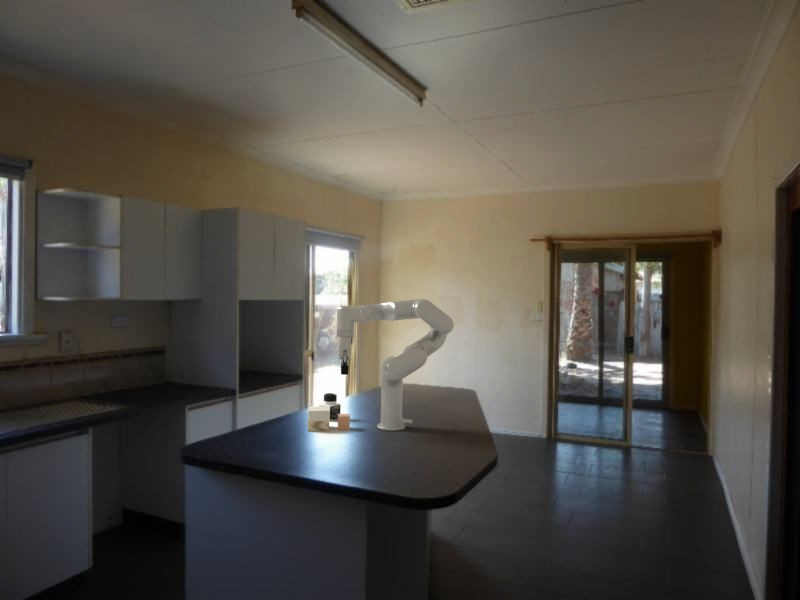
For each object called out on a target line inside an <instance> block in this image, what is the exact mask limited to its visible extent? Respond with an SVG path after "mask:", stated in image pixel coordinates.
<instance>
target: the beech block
mask: <svg viewBox="0 0 800 600" xmlns="http://www.w3.org/2000/svg"><path fill="white" fill-rule="evenodd" d="M307 432H330V421H308V420H307Z"/></svg>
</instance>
